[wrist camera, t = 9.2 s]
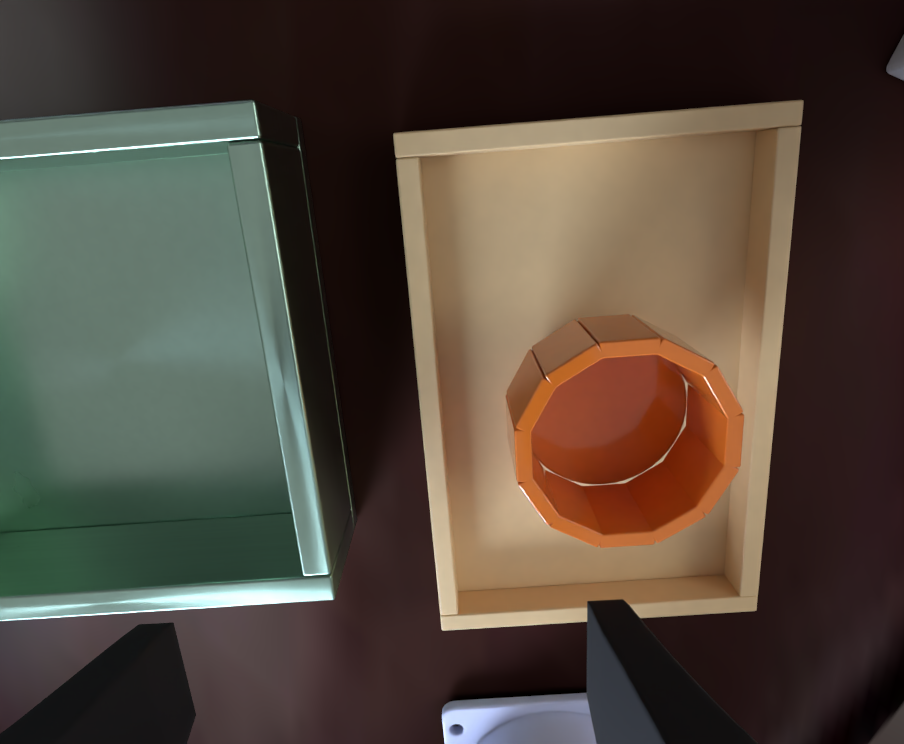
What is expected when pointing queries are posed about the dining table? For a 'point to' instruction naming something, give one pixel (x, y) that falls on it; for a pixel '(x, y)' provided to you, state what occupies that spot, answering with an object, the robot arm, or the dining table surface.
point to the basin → (165, 366)
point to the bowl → (621, 431)
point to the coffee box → (897, 61)
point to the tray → (588, 295)
